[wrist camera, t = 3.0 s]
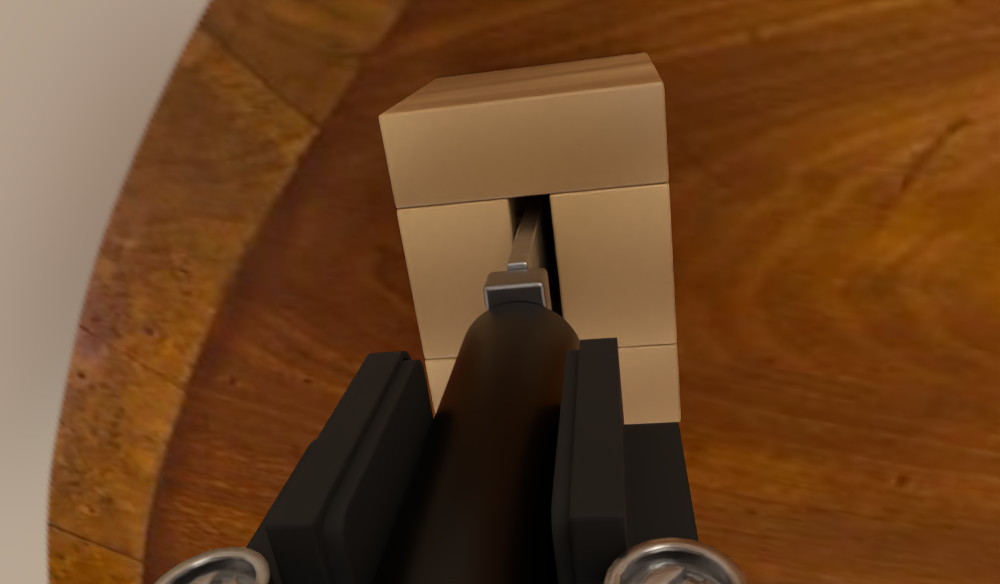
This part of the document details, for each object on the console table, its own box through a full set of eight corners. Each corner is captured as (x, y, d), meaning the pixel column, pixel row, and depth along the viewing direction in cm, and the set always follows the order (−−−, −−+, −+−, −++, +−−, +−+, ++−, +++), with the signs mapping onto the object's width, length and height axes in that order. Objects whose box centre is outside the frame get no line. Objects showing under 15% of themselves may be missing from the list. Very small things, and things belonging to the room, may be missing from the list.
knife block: (433, 78, 22) (376, 115, 16) (647, 51, 21) (664, 81, 15) (474, 330, 25) (438, 433, 19) (662, 317, 24) (681, 423, 18)
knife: (510, 157, 22) (263, 669, 6) (585, 149, 22) (541, 672, 6) (523, 253, 23) (343, 905, 7) (594, 247, 23) (580, 920, 7)
